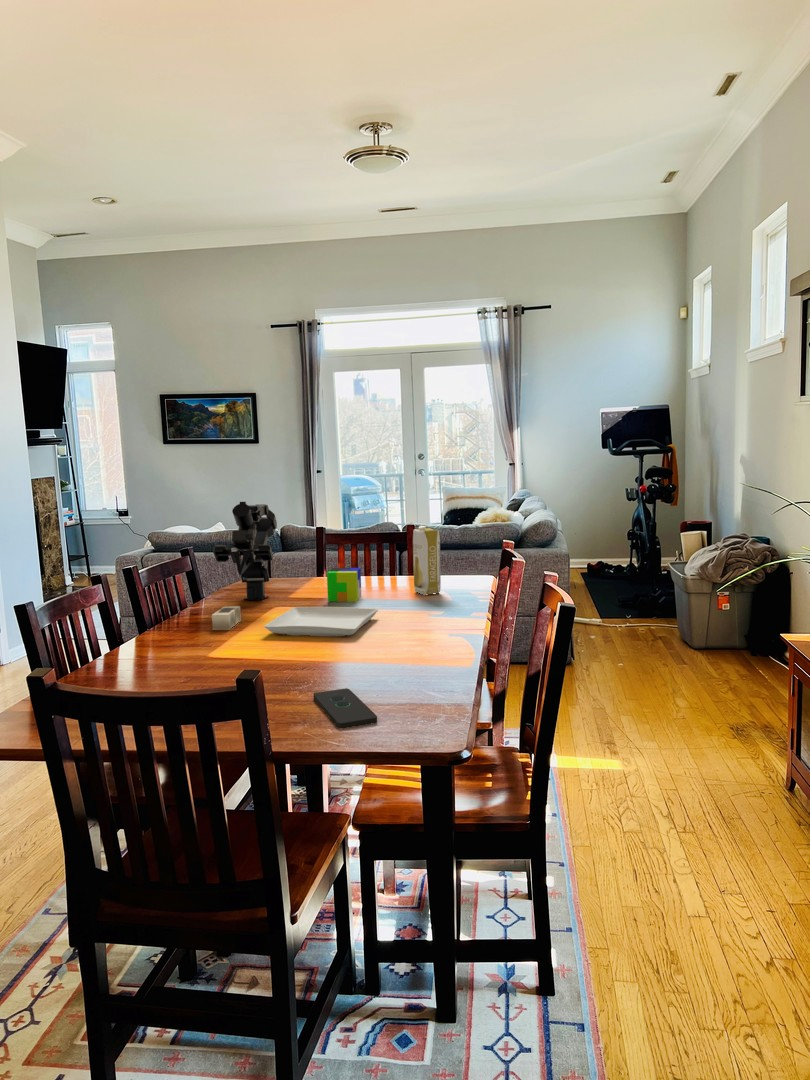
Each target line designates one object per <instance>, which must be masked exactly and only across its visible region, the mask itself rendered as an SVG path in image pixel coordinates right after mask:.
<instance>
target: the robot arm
mask: <svg viewBox="0 0 810 1080" xmlns="http://www.w3.org/2000/svg"><path fill="white" fill-rule="evenodd" d="M232 515H233V518H234V521H235V524H236V526H237V527H238V529H237V530H232V534H231V541H232V542H233V544H232V547H231V548H230V549H228V547H227V545H215V546H214V547H213V549H212V553H213V555H214V558H215V561H216V562H217V563H222V562H225V563H227V562H228V561H229V560H230V558H231V561H232V563H233V564H236V568H237V573H238V575H239V576H240V577H241V583H242V584H243V583H246V587H245V588H246V596H245V597H243V600H244V599H248V600H247V601H256V600H259V601H261V600H260V599H262V600H264V599H263V598H265V599H267V598H266V597H268V598H269V595H266V592H265V591H266V590H265V583H267V582H269V581H270V575H269V571H268V568H267V565H266V563H265V562H267V561H269V562H271V561H273V560H274V559H273V558H274V553H273V548H272V546H271V545H270V544H268V541H269V538H270V537H272V536H274V534H275V532H276V530H277V526H278V525H277V524H278V522H277V518H276V514H275V513H274V512H273V511H271V509H269V506H268V504H266V503H265V504H263V503H261V504H254V505H253V504H250V505H249V504H247V501H239V504H236V505H235V506H234V507H233V508H232ZM263 516H265V517H263ZM241 557H242V558H241Z"/></svg>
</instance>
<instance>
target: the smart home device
mask: <svg viewBox="0 0 810 1080" xmlns="http://www.w3.org/2000/svg"><path fill="white" fill-rule="evenodd" d="M312 694H313V700H314V702H315V703H316V702H317V703H318V704H319V705H318V704H317V703H316V704H317V705H318V707H320V709H321V708H322V709H323V710H324V711H325V712H324V711H323V710H322V709H321V710H322V711H323V712H324V714H326V715H328V716H329V717H328V716H327V717H328V718H329V720H330V721H331V722H332V723H333V724H334V723H335V724H334V725H335V726H336V727H337V728H338V729H340V728H343V729H347V728H346V727H349V728H353V727H352V726H355V727H359V725H361V726H367V725H372V724H371V723H374V724H377V723H378V716H377V714H375V712H373V710H372V709H370V707H369V706H368V705H367V704H366V703H364V701H363V700H361V698H359V697H358V696H357V695H356V694H355V693H354V692H353V691H352V690H351V689H350V688H346V687H345V688H339V689H338V688H337V689H332V690H327V691H320V692H319V691H318V692H314V693H312ZM366 724H367V725H366Z"/></svg>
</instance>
